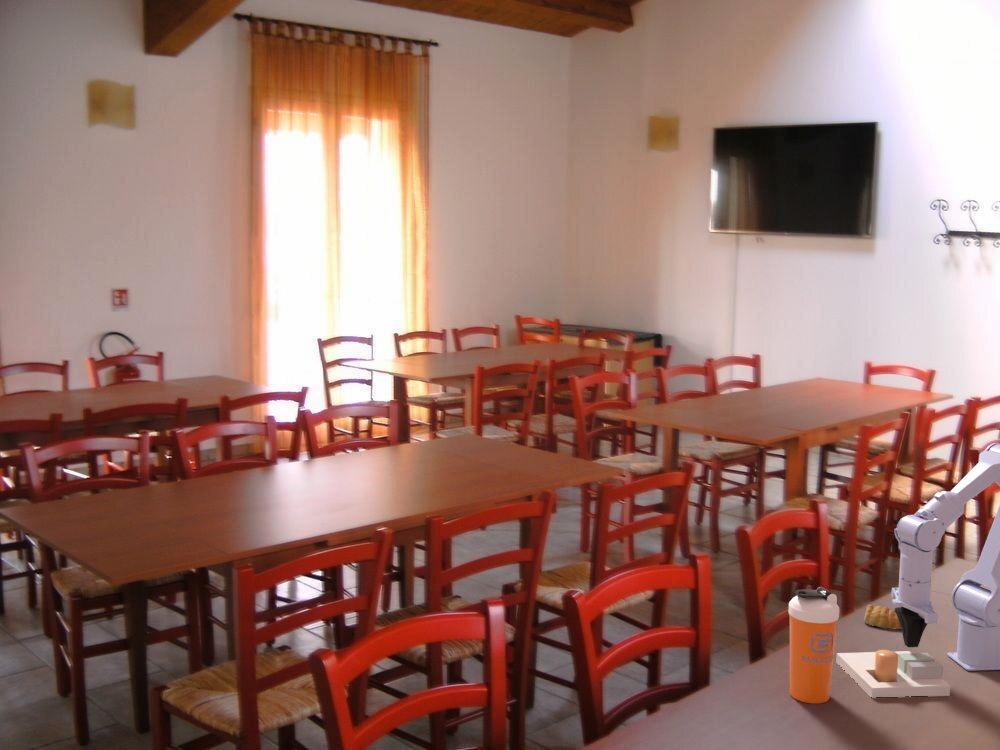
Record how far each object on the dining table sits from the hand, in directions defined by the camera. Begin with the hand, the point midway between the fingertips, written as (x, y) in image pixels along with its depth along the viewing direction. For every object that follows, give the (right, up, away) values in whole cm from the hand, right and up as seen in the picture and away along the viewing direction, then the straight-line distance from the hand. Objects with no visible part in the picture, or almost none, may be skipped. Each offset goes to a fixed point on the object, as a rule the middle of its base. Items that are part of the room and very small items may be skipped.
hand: (911, 645), depth 200 cm
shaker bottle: (-22, -7, -9) cm, 25 cm away
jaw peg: (-7, -6, -5) cm, 10 cm away
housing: (-4, -6, -1) cm, 7 cm away
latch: (0, -4, -2) cm, 4 cm away
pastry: (+5, -3, +27) cm, 28 cm away
